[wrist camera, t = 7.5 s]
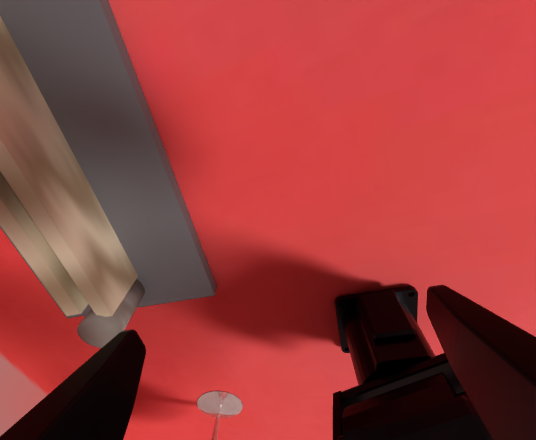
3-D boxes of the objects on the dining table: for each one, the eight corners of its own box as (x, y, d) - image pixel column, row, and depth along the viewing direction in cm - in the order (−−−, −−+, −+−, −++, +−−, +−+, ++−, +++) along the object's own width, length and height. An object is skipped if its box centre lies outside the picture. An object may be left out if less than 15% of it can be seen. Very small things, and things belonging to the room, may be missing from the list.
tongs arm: (112, 273, 22) (80, 314, 18) (100, 275, 22) (66, 316, 18) (-50, -7, 14) (-160, -32, 10) (-68, -1, 14) (-183, -24, 10)
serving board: (216, 287, 24) (214, 295, 23) (74, 309, 25) (67, 318, 24) (83, -64, 14) (70, -73, 13) (-139, 7, 15) (-164, 3, 14)
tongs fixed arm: (150, 298, 23) (125, 345, 19) (120, 303, 24) (89, 350, 20) (-16, -14, 14) (-127, -45, 10) (-61, 0, 14) (-187, -25, 10)
